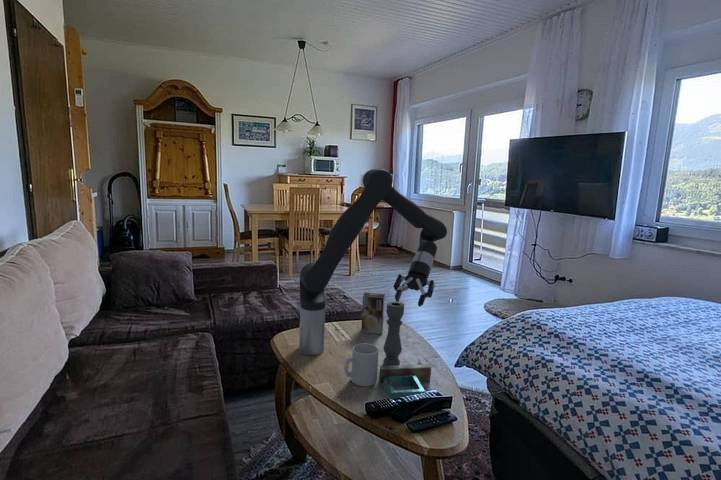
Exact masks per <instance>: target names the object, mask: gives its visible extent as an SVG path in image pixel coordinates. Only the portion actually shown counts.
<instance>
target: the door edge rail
mask: <svg viewBox="0 0 721 480" xmlns="http://www.w3.org/2000/svg"><path fill="white" fill-rule="evenodd" d="M432 369H433V368H432V366H431V365H430V364H429V363H428V364H424V365H417V364H402V365H401V364H400V365H392V366H382V365H379V374H378V375H379V377H378V378H379V379H378V383H379V385H383V381H384V375H403V374H415V375H416V377H417V378H418V380H419V382H420V383H430V382H431V375H432Z"/></svg>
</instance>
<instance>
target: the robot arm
mask: <svg viewBox="0 0 721 480" xmlns="http://www.w3.org/2000/svg"><path fill="white" fill-rule="evenodd" d="M393 182H394V181H393V176H392V174H391V172H390V171H388V170H386V169H383V168H373V169H370V170H367V171H366V172H365V173H364V175H363V177H362V185H363V187H364V189H363V190H362V192H361V194H360V195H359V196H358V198H357V199H356V200H355V201H353V203H352V204H351V205H350V206H348V208H347V209H345V210H344V211H343V213H342V214H341V215H340V216H339V217H338V219H337V221H336V222H335V223H334V224H333V227H332V228H331V230H330V232H329V234H328V237H327V240H326V243H325V246H324V248H323V250H322V252H321V254H320V255H319V257H318V258H317V260H316V261H315V262H309V263H307V264H305V265H304V266H303V267H302V268H301V271H300V273H299V300H300V301H299V302H300V308H299V309H300V310H299V311H300V313H299V314H300V316H299V335H298V337H299V339H298V340H299V341H298V353H299V354H300V355H306V356H316V355H317V356H318V355H320V354H322V353H324V350H325V329H326V327H325V325H326V301H327V300H326V298H325V297H326V296H325V288H326V287H327V286H328V284H329V282H330V280H331V278H332V277H333V274H334V272H335V270H336V269H337V267H338V265H339V263H340V262H341V261H342V259H343V257H344V256H345V255H346V253H347V252H348V250H349V249H350V247H351V246H352V245H353V243H354V242H355V240H356V239H357V237H358V236H359V234H360V232H361V231H362V229H363V228H364V226H365V225H366V223H367V222H368V220H369V219H370V217H371V215H372V214H373V212H374V210H375V209H376V208H377V206H378V205H380V202H382V201H383V202H385V203H386V204H387V205H389V206H390V207H391V208H392V209H394V210H395V211H396V212H397V213H398V214H399V215H400V216H401V217H402V218H403V219H405V220H406V221H407V222H408V223H409V224H411V226H412V227H414V228H416V229H420V233H419V241H418V242H419V245H418V248H417V251H416V252H415V255H414V256H413V259H412V261H411V264H410V267H409V270H408V272H407V275H406V276H404V275H403V274H400V273H399V274H398V276H397V277H396V279H395V282H394V283H393V288H394V291H396V292H395V295H394V299H395V300H394V301H395V302H400V299H401V296H402V293H403V292H405V291H408V290H411V291H413V290H414V291H417V292H418V291H420V293H421V294H420V295H419V296H420V297H419V299H418V302H417V305H418V307H422V306H423V305H424V303H425V300H426V299H427V298H429V299H430V298H432V297H433V292H434V288H435V282H434V280H433V279H431V280H428V279H429V276H430V275H431V270H432V269H433V264H434V260H435V257H436V254H437V251H438V247H437V244H436V243H435V242H436V241H440V240H442V239H444V238H446V237H447V234H448V229H447V226H446V224H445V223H444V222H442V221H441V219H438V218H436V217H434V216H432V215H430V214H428V213H426V212H425V211H424V210H423V209H422V208H421V207H420V206H419V205H417V203H415V202H414V201H412V200H411V199H409V198H408V197H406V196H405V195H404V194H402V193H401V192H399V191H398V190H397V189H396V188H395V187H394V186H393ZM426 286H427V287H428V289H427V292H425V288H424V287H426Z"/></svg>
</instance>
